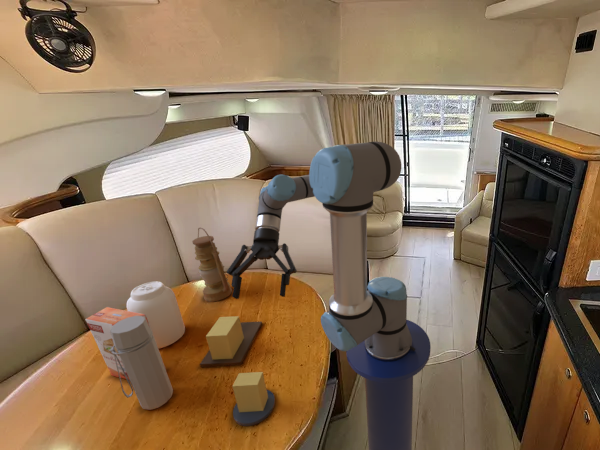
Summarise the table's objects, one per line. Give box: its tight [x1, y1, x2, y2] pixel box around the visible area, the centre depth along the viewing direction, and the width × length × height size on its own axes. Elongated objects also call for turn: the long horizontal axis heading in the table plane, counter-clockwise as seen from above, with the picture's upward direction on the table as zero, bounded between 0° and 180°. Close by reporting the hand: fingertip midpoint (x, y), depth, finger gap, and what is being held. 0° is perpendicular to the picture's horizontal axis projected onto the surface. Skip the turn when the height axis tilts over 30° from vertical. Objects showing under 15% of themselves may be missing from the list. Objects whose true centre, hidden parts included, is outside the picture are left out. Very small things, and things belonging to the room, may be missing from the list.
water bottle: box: [110, 316, 174, 411], centre depth 79 cm, size 9×8×25 cm
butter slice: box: [231, 371, 268, 412], centre depth 80 cm, size 6×4×9 cm, turn 94°
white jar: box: [126, 280, 186, 350], centre depth 103 cm, size 12×12×20 cm
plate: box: [232, 389, 276, 427], centre depth 82 cm, size 10×10×1 cm
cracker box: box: [85, 306, 167, 381], centre depth 88 cm, size 14×6×21 cm, turn 76°
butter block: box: [205, 315, 244, 360], centre depth 98 cm, size 6×9×9 cm, turn 4°
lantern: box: [191, 227, 233, 303], centre depth 125 cm, size 15×10×30 cm
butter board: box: [199, 321, 263, 368], centre depth 103 cm, size 12×19×1 cm, turn 4°
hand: (259, 297), depth 93 cm, fingers open, 13 cm apart
